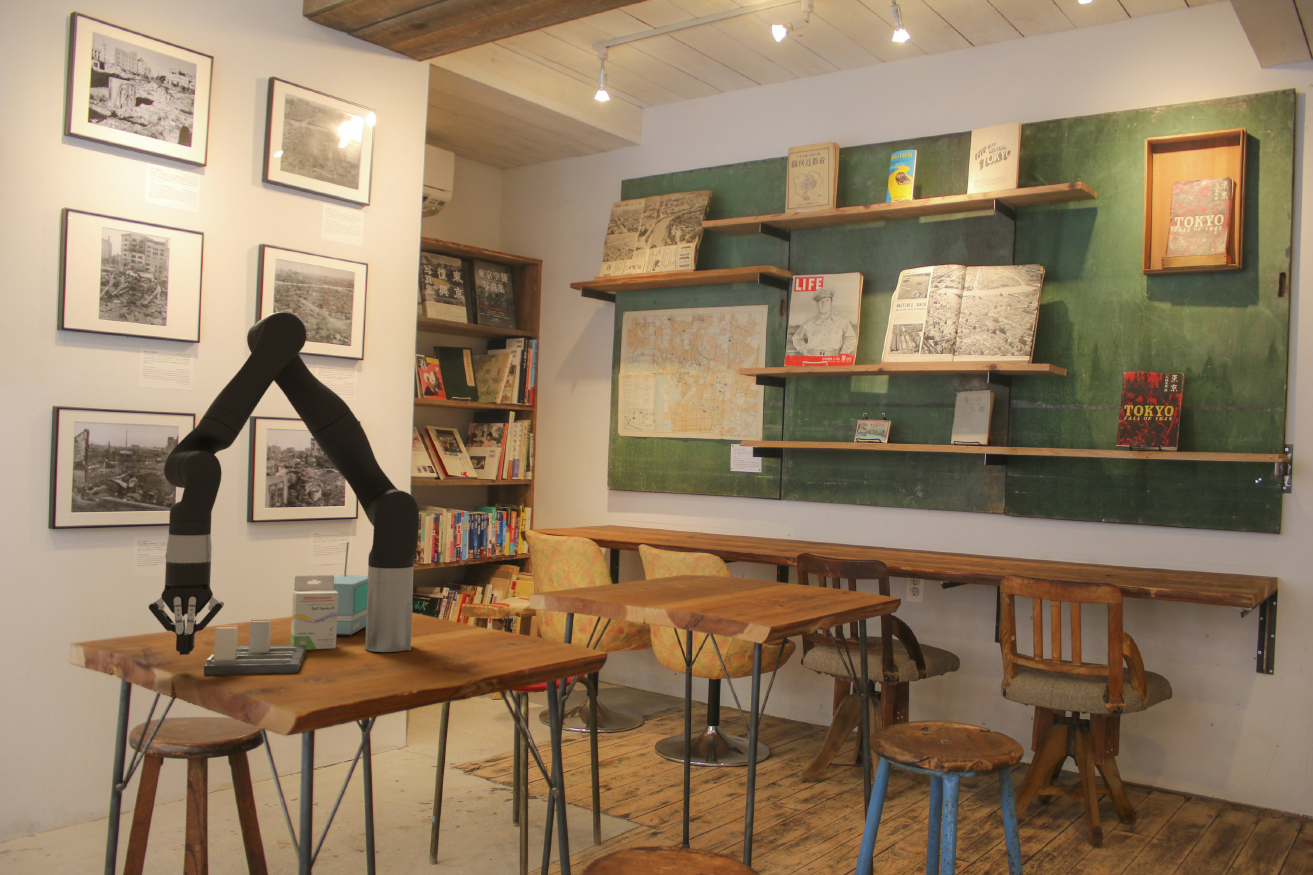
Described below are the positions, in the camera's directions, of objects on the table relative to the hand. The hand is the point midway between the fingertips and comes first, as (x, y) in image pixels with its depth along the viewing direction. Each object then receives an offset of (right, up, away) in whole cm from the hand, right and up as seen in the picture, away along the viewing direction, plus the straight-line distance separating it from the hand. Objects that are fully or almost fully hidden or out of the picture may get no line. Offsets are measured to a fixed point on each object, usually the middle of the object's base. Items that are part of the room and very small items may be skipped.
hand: (184, 653), depth 184 cm
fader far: (+10, -2, +10) cm, 14 cm away
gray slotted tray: (+10, -4, +8) cm, 14 cm away
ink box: (+15, -4, +26) cm, 30 cm away
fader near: (+7, -1, +2) cm, 7 cm away
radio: (+16, -5, +45) cm, 48 cm away
